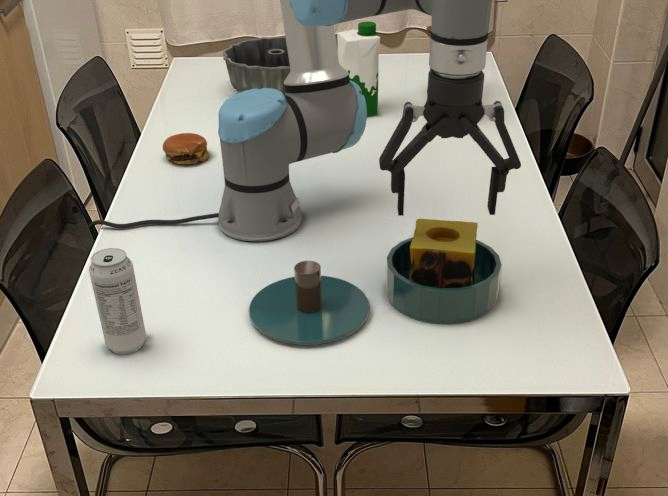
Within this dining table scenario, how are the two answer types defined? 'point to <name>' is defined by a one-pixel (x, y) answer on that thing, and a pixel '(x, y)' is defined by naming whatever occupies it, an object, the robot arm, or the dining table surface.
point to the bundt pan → (258, 64)
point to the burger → (186, 148)
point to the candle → (443, 253)
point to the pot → (443, 289)
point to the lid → (309, 307)
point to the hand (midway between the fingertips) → (445, 211)
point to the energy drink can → (117, 300)
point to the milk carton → (362, 60)
